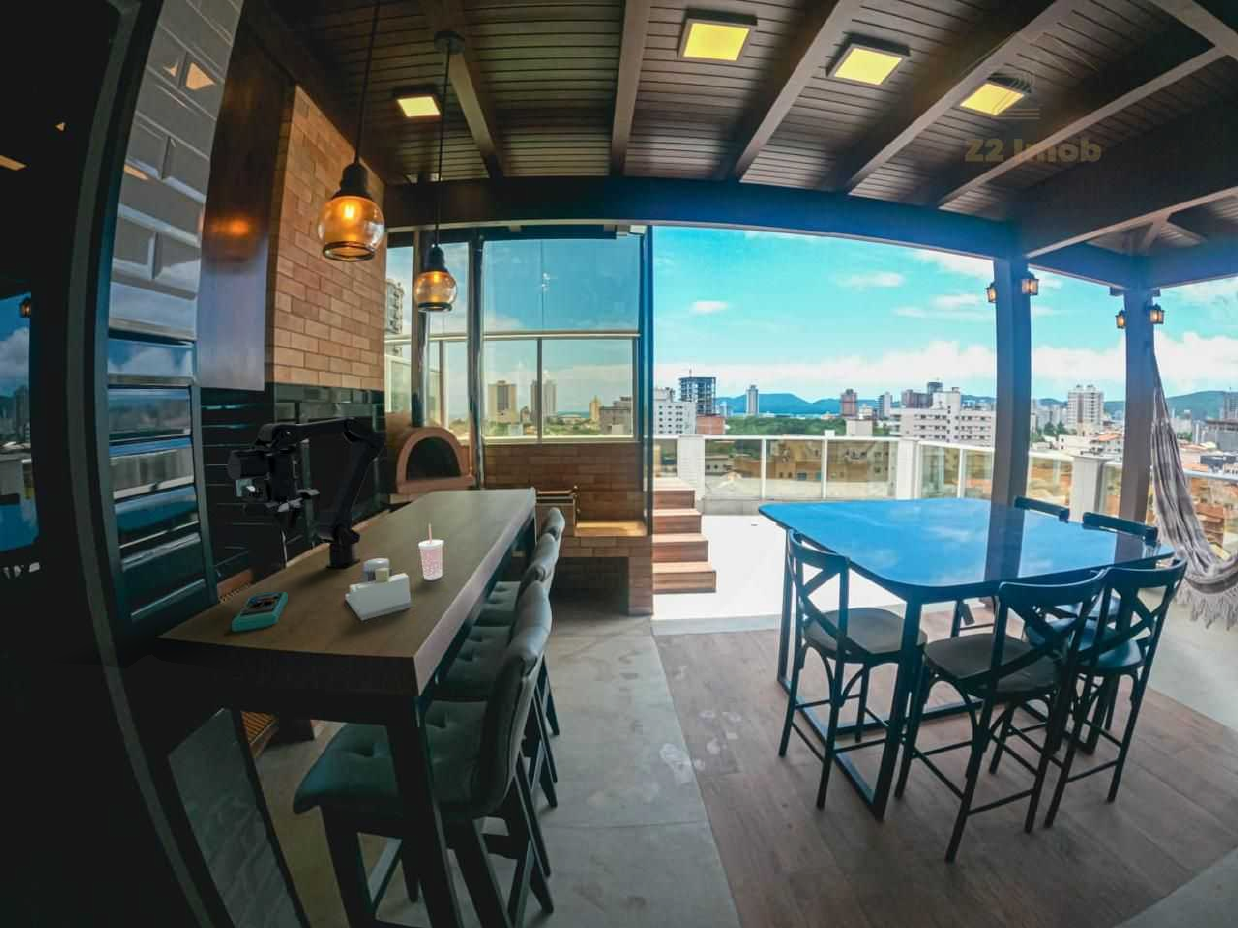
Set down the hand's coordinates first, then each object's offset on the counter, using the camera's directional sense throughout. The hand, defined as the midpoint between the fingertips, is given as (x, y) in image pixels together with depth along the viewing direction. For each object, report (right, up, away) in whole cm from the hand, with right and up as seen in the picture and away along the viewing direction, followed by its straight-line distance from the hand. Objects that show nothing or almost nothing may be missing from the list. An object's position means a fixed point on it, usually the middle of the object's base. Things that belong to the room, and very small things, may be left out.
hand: (287, 535), depth 124 cm
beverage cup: (+35, -11, +4) cm, 37 cm away
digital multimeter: (+7, -15, -18) cm, 25 cm away
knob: (+30, -12, -14) cm, 35 cm away
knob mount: (+29, -13, -13) cm, 35 cm away
